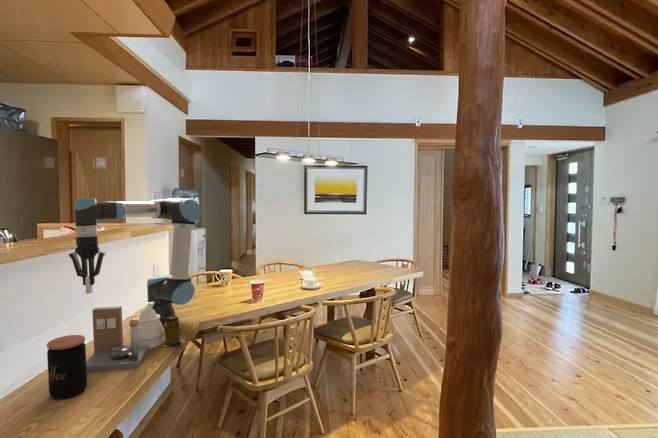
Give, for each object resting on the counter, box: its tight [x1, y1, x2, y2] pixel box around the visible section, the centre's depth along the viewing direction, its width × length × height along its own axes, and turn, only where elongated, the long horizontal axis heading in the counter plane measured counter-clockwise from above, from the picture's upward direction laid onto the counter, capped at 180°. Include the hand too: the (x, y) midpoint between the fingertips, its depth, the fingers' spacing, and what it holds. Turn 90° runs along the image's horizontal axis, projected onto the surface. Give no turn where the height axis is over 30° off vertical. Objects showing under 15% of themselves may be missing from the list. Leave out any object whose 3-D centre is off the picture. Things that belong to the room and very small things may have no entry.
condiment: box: [161, 315, 187, 348], centre depth 172 cm, size 7×8×12 cm
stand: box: [86, 305, 150, 373], centre depth 154 cm, size 16×20×20 cm
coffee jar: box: [46, 334, 88, 401], centre depth 130 cm, size 11×11×18 cm
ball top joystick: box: [111, 318, 138, 361], centre depth 153 cm, size 12×10×16 cm
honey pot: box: [135, 302, 165, 349], centre depth 172 cm, size 13×13×18 cm
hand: (89, 292), depth 158 cm, fingers closed
